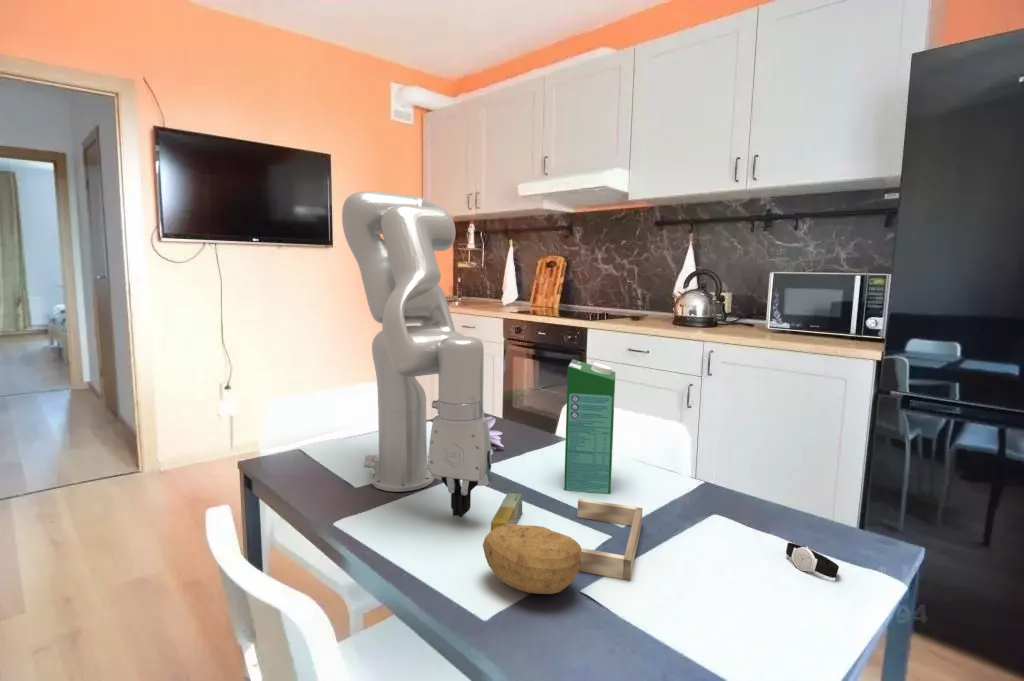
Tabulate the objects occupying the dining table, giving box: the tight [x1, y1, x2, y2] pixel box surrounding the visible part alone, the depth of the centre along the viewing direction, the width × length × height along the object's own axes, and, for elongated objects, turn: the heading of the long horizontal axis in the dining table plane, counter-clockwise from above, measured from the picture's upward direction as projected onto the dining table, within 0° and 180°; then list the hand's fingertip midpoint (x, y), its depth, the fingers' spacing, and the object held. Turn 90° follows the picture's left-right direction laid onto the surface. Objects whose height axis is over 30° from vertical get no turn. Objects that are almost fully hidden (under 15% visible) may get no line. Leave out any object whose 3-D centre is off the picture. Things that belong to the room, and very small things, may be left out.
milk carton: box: [563, 359, 616, 495], centre depth 109 cm, size 9×9×25 cm
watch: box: [785, 542, 840, 579], centre depth 80 cm, size 8×5×4 cm, turn 24°
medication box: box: [490, 491, 523, 532], centre depth 91 cm, size 12×3×4 cm, turn 167°
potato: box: [482, 524, 582, 595], centre depth 74 cm, size 10×14×8 cm
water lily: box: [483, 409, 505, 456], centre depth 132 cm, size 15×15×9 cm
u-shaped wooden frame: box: [576, 498, 643, 582], centre depth 86 cm, size 11×18×3 cm, turn 161°
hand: (460, 513), depth 93 cm, fingers closed
